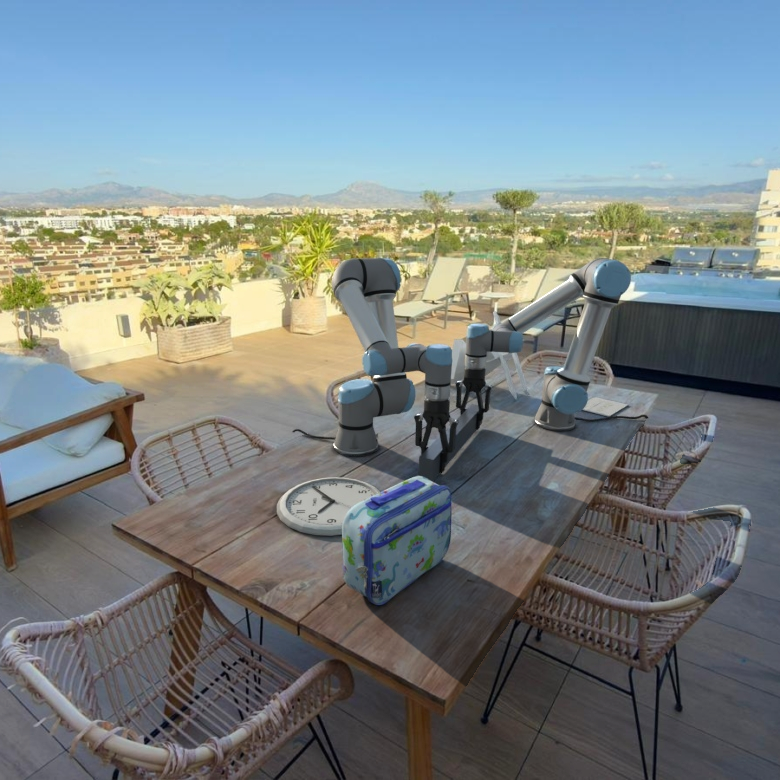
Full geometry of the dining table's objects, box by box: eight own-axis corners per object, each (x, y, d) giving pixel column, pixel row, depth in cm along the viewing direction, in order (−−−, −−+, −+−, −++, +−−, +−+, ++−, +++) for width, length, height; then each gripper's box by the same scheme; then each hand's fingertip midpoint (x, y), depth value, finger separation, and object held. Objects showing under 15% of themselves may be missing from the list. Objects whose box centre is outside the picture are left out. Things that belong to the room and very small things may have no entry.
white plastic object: (461, 429, 252) (437, 405, 227) (444, 352, 274) (420, 323, 250) (535, 404, 240) (518, 377, 215) (510, 326, 262) (492, 293, 237)
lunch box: (371, 618, 102) (371, 524, 95) (336, 591, 109) (334, 502, 103) (455, 562, 119) (460, 479, 113) (420, 542, 126) (423, 463, 120)
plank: (470, 421, 202) (471, 404, 200) (481, 423, 200) (483, 405, 198) (418, 478, 155) (419, 456, 153) (432, 482, 154) (433, 459, 152)
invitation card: (608, 416, 214) (573, 407, 224) (608, 416, 214) (573, 408, 224) (628, 404, 229) (594, 396, 238) (628, 405, 229) (594, 397, 238)
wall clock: (392, 527, 129) (268, 531, 127) (391, 533, 130) (269, 537, 127) (383, 473, 158) (282, 475, 155) (383, 478, 158) (282, 480, 156)
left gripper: (404, 396, 154) (402, 468, 161) (462, 405, 147) (457, 480, 154) (414, 390, 160) (412, 459, 167) (469, 398, 153) (465, 470, 160)
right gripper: (448, 366, 188) (445, 426, 195) (496, 372, 181) (491, 435, 188) (455, 361, 195) (451, 420, 202) (501, 367, 188) (496, 428, 195)
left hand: (433, 469), depth 161 cm, fingers closed on plank, 4 cm apart
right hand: (470, 427), depth 195 cm, fingers closed on plank, 4 cm apart
